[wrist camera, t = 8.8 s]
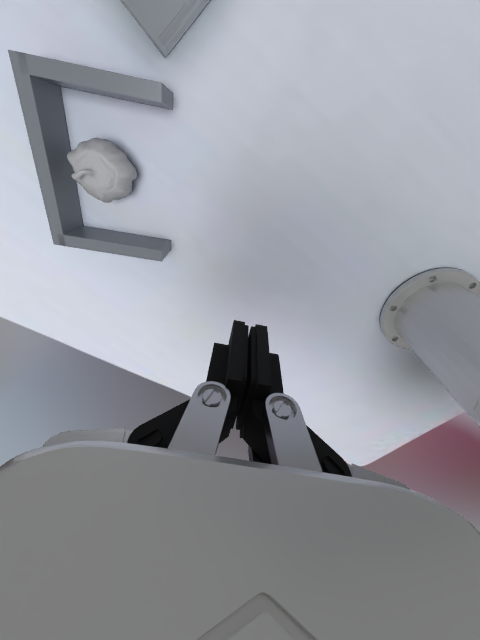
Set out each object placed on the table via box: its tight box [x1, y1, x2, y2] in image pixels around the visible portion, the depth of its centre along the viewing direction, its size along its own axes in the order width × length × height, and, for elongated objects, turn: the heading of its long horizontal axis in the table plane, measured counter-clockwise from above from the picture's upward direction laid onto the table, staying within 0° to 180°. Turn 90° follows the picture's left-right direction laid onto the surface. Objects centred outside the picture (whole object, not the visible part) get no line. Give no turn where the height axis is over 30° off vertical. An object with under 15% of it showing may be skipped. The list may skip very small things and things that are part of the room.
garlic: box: [67, 138, 137, 203], centre depth 25 cm, size 6×5×5 cm
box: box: [8, 50, 173, 261], centre depth 25 cm, size 11×15×4 cm
